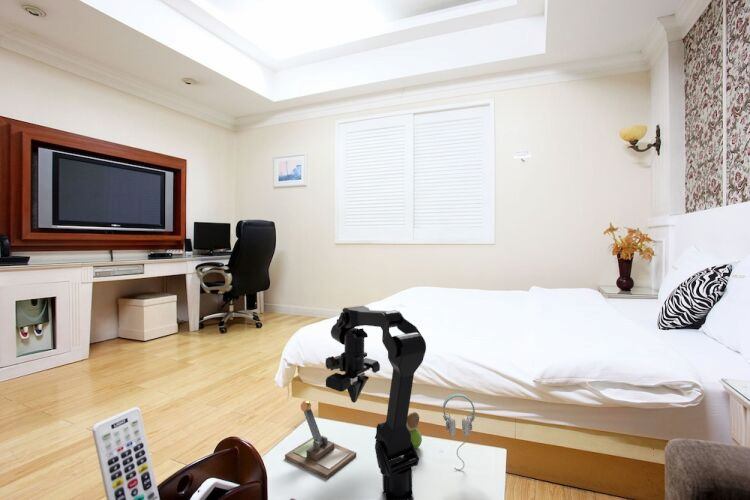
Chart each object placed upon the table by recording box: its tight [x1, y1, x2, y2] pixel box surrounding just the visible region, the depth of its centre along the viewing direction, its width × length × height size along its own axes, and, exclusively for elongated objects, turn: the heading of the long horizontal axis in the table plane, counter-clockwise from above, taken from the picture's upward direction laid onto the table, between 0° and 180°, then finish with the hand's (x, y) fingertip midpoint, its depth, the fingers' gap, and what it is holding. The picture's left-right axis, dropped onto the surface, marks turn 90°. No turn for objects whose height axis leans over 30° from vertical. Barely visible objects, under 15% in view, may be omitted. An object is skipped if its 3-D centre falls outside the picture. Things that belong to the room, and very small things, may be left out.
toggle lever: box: [300, 400, 323, 445], centre depth 104 cm, size 3×3×12 cm
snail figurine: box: [407, 411, 423, 450], centre depth 106 cm, size 5×6×12 cm
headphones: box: [442, 392, 476, 471], centre depth 95 cm, size 8×4×20 cm, turn 85°
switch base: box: [284, 435, 357, 480], centre depth 102 cm, size 16×12×5 cm
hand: (353, 401), depth 106 cm, fingers closed
